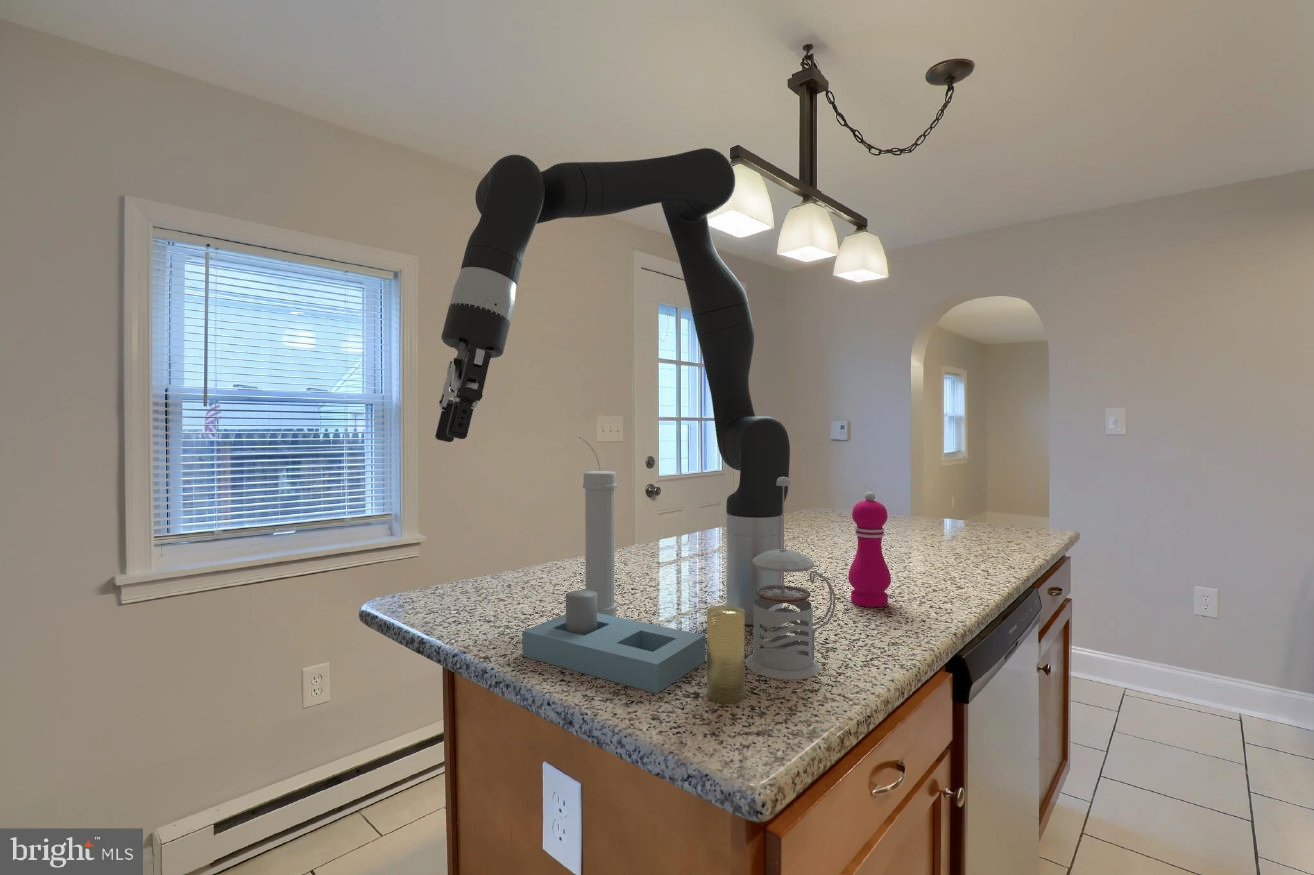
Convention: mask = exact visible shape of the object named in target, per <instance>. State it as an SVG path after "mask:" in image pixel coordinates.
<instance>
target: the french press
mask: <svg viewBox="0 0 1314 875" xmlns="http://www.w3.org/2000/svg"><path fill="white" fill-rule="evenodd" d="M776 485H777V486H782V487H783V542H782V548H781V549H777V550H770V551H767V552H764V553H761V554H760V555H758V556H757V557H755V558H753V561H752V563H753V564H754V566H756V567H757V568H760V569H764V570H769V571H775V572H782V586H781V585H777V586H775V585H770V586H769V585H768V586H767V585H766V587H765V586H763V587H759V588H758V589H757V590H756V594H757V595H758V596H759V598H757V599H756V600H754V625H753V653H752V654H750V655H749V656H748V657H746V659H745V666H746V667H747V668H748V669H749V671H751V672H754V673H755V674H758V675H760V676H764V677H768V678H771V679H776V680H777V679H778V680H787V681H789V680H790V681H792V680H804V679H808V678H811V677H814V676H816V675H817V674H819V673H820V672H821V664H820V663H819V662H818V661H817V660H816V659H815V632H816V631H817V630H819V629H821V628H823V627H825V626H826V625H827V624H828V623H829V622H830V621H831V619H832V618H833V615H835V614H834V613H835V611H836V610H835V609H836V593H835V590H834V588H833V586H832V584H831V583H830V581H829V580H828V579H827V578H825V576H823V575H822V574H821V573H819V572H818V571H816V570H812V569H813V567H814V566H815V561H814V560H812V559H811V558H810V557H808V556H807V555H805V554H803V553H800V552H797V551H796V550H792V549H787V548H785V502H784V487H785V486H788V487H790V486H791V480H790V478H789V479H788V478H787V477H779V478H778V479H777V482H776ZM805 571H810V572H809V581H810V583H811V584H812V585H813V584H815V579H816V578H815V577H818V578H821V579H823V581H825V583H826V585H827V588H828V591H829V600H830V601H829V602H830V603H829V605H828V609H827V611H826V613H825V615H824V616H823V617H821V619H820V620H818V621H815V622H814V621H813V620H814V617H813V613H814V612H813V610H814V606H813V605H812V602H810V601H809V600H808V599H810V598H811V592H810V591H809V590H808V589H806V588H803V587H799V586H795V585H794V586H792V585H788V584H787V585H785V573H799V572H800V573H801V572H805ZM782 603H783V604H787V605H791V606H794V607H795V608H796V609H798V610H799V611H797V610H794V609H792V608H788V607H783V608H779V609H776V610H774V611H771V610H768V609H770V608H771V607H773V606H775V605H776V604H782ZM831 608H832V610H831ZM830 611H831V613H830ZM829 613H830V615H829ZM828 615H829V618H828ZM826 618H828V619H827V620H826V621H825V622H824V623H823V624H821V625H818V624H820V623H822V622H823V621H824V620H825V619H826ZM787 623H789V624H792V626H791V625H790V626H787V625H783V624H787ZM760 624H762V625H760ZM781 625H782V626H781ZM816 625H818V626H816ZM815 626H816V627H815ZM770 628H773V629H771V630H769V631H766V630H767V629H770ZM788 633H791V634H794V635H791V636H789V635H787V634H788ZM767 638H770V640H767V641H765V639H767Z"/></svg>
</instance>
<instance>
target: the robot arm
mask: <svg viewBox="0 0 1314 875" xmlns="http://www.w3.org/2000/svg"><path fill="white" fill-rule="evenodd" d="M476 187H477V188H476V191H475V196H474V197H475V198H474V200H475V205H476V208H477V210H478V212H479V214H480V217H479V221H478V223H477V225H476V226H475V228H474V229H473V230H472V233H471V234H470V237H469V239H468V241H467V244H466V248H465V251H464V255H463V259H462V263H461V266H460V271H459V273H458V276H457V279H456V281H455V284H454V286H453V289H452V293H451V297H450V301H449V305H448V309H447V313H446V316H445V320H444V325H443V328H442V333H441V337H440V338H441V341H442V342H443V343H444V344H445V345H446V346H448V347H450V348H453V349H454V350H456V351H457V355H456V357H453V358H452V360H449V362H448V365H447V368H446V377H445V381H444V384H443V386H442V393H441V397H440V399H439V402H438V404H439V408H440V410H441V412H440V415H439V419H438V424H437V428H436V431H435V435H434V438H435V439H436V440H438V441H442V442H446V443H452V442H453V441H454V440H455V439H458V440H465V439H466V438H467V437H468V433H469V429H470V425H471V421H472V418H473V412H474V409H475V408H476V407H477V406H478V403H479V402H480V401H481V400H482V398H483V393H484V392H483V391H484V387H485V383H486V379H487V374H488V370H489V366H490V361H491V359H495V358H499V357H501V356H502V355H503V354H504V350H505V346H506V342H507V338H508V335H509V330H510V325H511V321H512V317H513V314H514V309H515V304H516V295H517V294H516V293H517V286H518V283H519V279H520V275H521V270H522V266H523V261H524V255H525V253H526V249H527V247H528V245H529V242H530V240H531V237H532V235H533V233H534V230H535V228H536V225H537V224H542V223H546V222H551V221H554V220H558V219H566V218H573V219H575V218H589V217H600V216H601V217H602V216H607V215H609V216H610V215H614V214H618V213H623V212H626V211H629V210H633V209H637V208H641V207H645V206H650V205H655V204H661V208H662V211H663V215H664V218H665V220H666V223H667V226H668V229H669V231H670V234H671V238H672V241H673V244H674V247H675V249H676V253H677V257H678V259H679V263H680V267H681V272H682V276H683V280H684V284H685V288H686V290H687V291H686V292H687V295H688V299H689V305H690V308H691V315H692V320H693V324H694V328H695V332H696V333H695V334H696V337H697V341H698V345H699V348H700V352H701V356H702V360H703V365H704V370H705V374H706V379H707V383H708V387H709V391H710V397H711V403H712V411H713V412H712V413H713V420H714V427H715V429H714V430H715V436H716V443H717V448H718V452H719V454H720V457H721V459H722V460H723V462H724V463H725V464H726V465H727V466H728V467H730V468H731V469H732V470H736V471H739V481H738V482H739V483H738V487H737V488H736V490H735V491H734V492H733V493H731V494H729V495H728V496H727V498H726V508H725V509H726V510H725V511H726V516H725V517H726V521H725V522H726V527H725V528H726V529H725V530H726V545H725V546H726V549H725V550H726V566H725V567H726V571H725V572H726V575H725V576H726V577H725V578H726V579H725V581H726V583H725V584H726V587H725V588H726V589H725V590H726V594H725V596H726V598H725V599H726V600H725V602H726V604H725V605H728V606H736V607H739V608H742V609H744V611H745V625H748V626H750V625H751V626H754V600H756V599H757V598H759V596H758V595H757V594H756V590H757V589H758V588H759V587H763V586H765V587H766V585H767V586H768V585H769V586H770V585H775V586H777V585H781V586H782V572H775V571H769V570H764V569H760V568H757V567H756V566H754V564H753V563H752V561H753V558H755V557H757V556H758V555H760V554H761V553H764V552H767V551H770V550H777V549H781V548H782V542H783V487H782V486H777V485H776V482H777V479H778V478H779V477H787V478H788V479H789V480H790V478H789V477H790V463H791V462H790V461H791V460H790V458H791V457H790V456H791V447H790V439H789V434H788V431H787V430H786V427H785V426H784V424H783V423H782V422H781V421H779V420H778V419H777V418H774V417H771V416H756V413H755V411H754V406H753V402H752V398H751V392H750V385H749V384H750V383H749V380H750V379H749V378H750V377H749V376H750V371H751V370H750V369H751V363H752V359H753V353H754V348H755V347H754V346H755V345H754V344H755V329H754V328H755V327H754V323H753V318H752V314H751V309H750V304H749V299H748V296H747V293H746V291H745V288H744V287H743V286H742V284H741V283H740V281H739V280H738V278H737V276H735V274H734V273H733V272H732V271H731V269H730V268H729V267H728V265H726V263H725V262H724V261H723V259H722V258H721V257H720V255H719V254H718V252H717V249H716V247H715V244H714V242H713V238H712V234H711V229H710V226H709V224H710V223H709V220H708V215H710V214H712V213H714V212H716V211H717V210H719V209H720V208H722V207H723V206H724V205H725V204H726V203H727V202H728V201H730V199H731V198H732V196H733V194H734V192H735V188H736V174H735V171H734V167H733V166H732V164H731V161H730V160H729V159H728V158H727V157H726V156H725V155H724V153H721V152H720V151H718V150H716V149H714V148H709V147H708V148H707V147H704V148H699V149H693V150H689V151H686V152H681V153H677V154H672V155H668V156H667V155H666V156H659V157H652V158H645V159H635V160H624V161H580V162H579V161H577V162H573V161H572V162H571V161H567V162H560V163H556V164H554V165H552V166H550V167H549V168H547V169H545V170H542V171H541V170H540V168H539V166H538V165H537V164H536V163H535V162H534V161H533V160H532V159H530V158H528V157H527V156H525V155H521V154H509V155H505V156H503V157H501V158H500V159H498V160H497V161H496V162H495V163H494V164H493V166H491V168H490V169H489V170H488V172H487V173H486V174H485V175H484V176H483V177H482V179H481V180H480V182H479V183H478V185H477V186H476ZM450 398H452V399H450ZM788 493H789V486H785V487H784V503H785V501H786V499H787V496H788ZM783 605H784V603H782V604H776V605H775V606H773V607H771V608H770V609H768V610H771V611H774V610H776V609H779V608H784V607H783ZM760 626H763V625H762V624H760Z"/></svg>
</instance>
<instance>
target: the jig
mask: <svg viewBox="0 0 1314 875" xmlns="http://www.w3.org/2000/svg"><path fill="white" fill-rule="evenodd" d="M522 657H524V658H527V657H528V659H532V660H534V659H535V660H534V661H538V662H542V663H546V664H549V665H552V666H556V667H561V668H563V669H568V670H570V671H575V672H577V673H582V674H585V675H589V676H592V677H595V678H599V679H603V680H606V681H610V682H613V683H618V684H621V685H625V686H628V687H631V688H635V689H638V690H642V691H646V692H650V693H654V694H657V695H658V694H659V693H661V692H662V691H664V690H665V689H667V688H668V687H669V686H671V685H672V684H674V683H675V682H677V681H678V680H680V679H681V678H683V677H684V676H685V675H687V674H689V673H690V672H691V671H693V670H695V668H697V667H698V666H700V665H702V664H703V663H704V662H706V634H701V633H695V632H692V631H686V630H683V629H676V628H673V627H667V626H662V625H659V624H658V625H657V624H653V623H648V622H644V621H640V620H639V621H638V620H634V619H629V618H624V617H619V616H616V617H615V616H610V615H605V614H600V613H597V593H596V592H594V591H590V590H586V589H576V590H572V591H569V592H566V593H565V614H563V615H559V616H558V617H555V618H552V619H549V620H548V621H545V622H542V623H538V624H537V625H535V626H532V627H529V628H527V629H524V630H522Z"/></svg>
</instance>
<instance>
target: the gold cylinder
mask: <svg viewBox="0 0 1314 875" xmlns="http://www.w3.org/2000/svg"><path fill="white" fill-rule="evenodd" d="M745 627H746V624H745V611H744V609H742V608H739V607H736V606H728V605H726V604H722V605H714V606H710V607H708V608H707V610H706V697H707V698H708V699H709V700H710V701H712V702H714V703H717V704H724V705H733V704H739V703H740V702H742V701H744V699H745V697H746V696H745V694H746V690H745V687H746V686H745V684H746V680H745V678H746V677H745V676H746V675H745V674H746V672H745V671H746V669H745V668H746V667H745V666H746V659H745V658H746V654H745V653H746V646H745V645H746V641H745V640H746V638H745V636H746V630H745V629H746V628H745Z"/></svg>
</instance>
